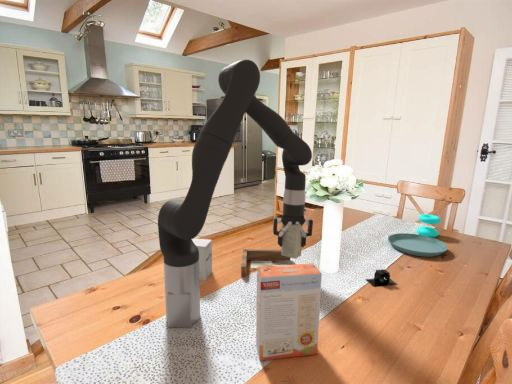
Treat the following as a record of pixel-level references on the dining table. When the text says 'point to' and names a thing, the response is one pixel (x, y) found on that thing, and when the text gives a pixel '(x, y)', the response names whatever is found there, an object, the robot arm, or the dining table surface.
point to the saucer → (417, 244)
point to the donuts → (428, 230)
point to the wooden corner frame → (260, 258)
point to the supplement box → (204, 257)
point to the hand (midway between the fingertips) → (291, 246)
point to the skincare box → (292, 241)
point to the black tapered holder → (381, 279)
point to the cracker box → (287, 310)
